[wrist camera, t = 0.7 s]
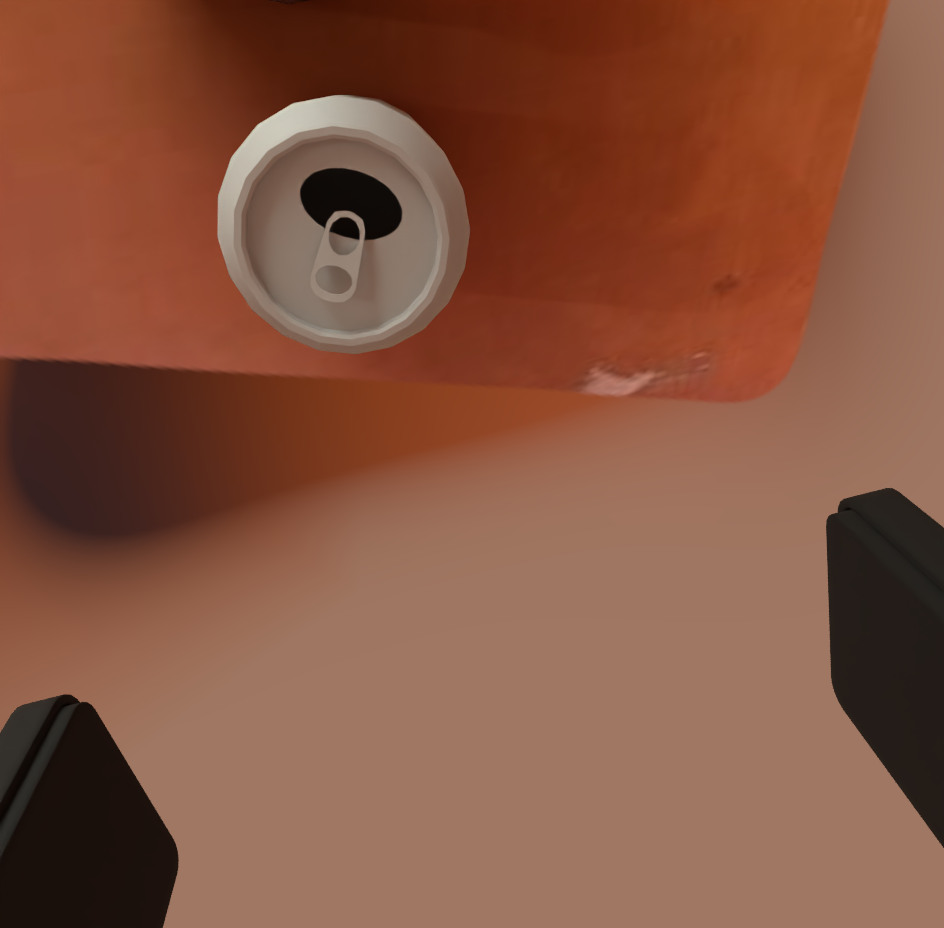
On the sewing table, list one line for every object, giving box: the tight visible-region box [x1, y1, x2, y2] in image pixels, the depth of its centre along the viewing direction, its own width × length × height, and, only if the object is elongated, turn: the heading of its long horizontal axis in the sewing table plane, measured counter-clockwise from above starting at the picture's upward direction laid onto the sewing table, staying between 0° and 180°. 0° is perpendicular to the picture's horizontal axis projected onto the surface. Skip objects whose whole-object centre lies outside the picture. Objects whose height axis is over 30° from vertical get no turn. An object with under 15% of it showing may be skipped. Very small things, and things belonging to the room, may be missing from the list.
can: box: [218, 95, 470, 354], centre depth 27 cm, size 8×8×12 cm
